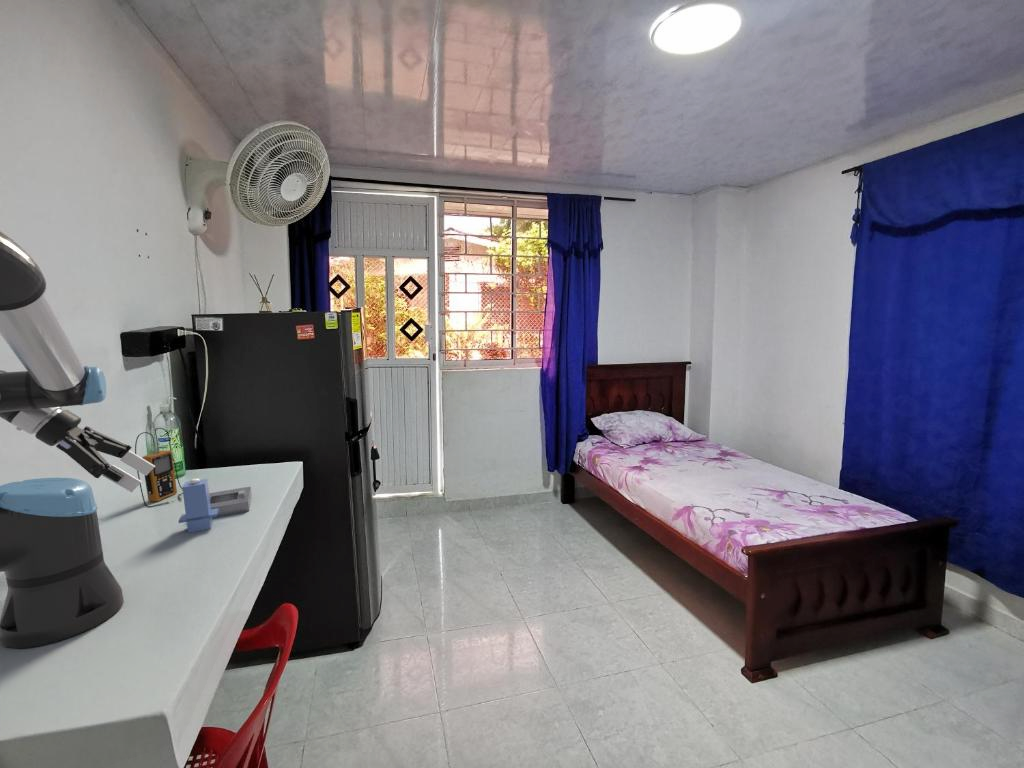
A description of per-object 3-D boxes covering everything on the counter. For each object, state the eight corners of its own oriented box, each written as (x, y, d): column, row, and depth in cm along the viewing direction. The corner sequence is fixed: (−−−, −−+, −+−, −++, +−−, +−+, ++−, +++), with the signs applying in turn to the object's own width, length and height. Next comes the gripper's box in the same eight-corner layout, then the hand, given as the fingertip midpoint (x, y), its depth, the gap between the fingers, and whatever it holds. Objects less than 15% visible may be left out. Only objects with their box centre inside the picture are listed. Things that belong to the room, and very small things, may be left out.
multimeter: (168, 507, 133) (158, 435, 131) (136, 507, 135) (125, 435, 133) (209, 489, 148) (201, 423, 145) (179, 489, 149) (171, 424, 147)
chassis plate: (249, 510, 128) (247, 498, 128) (194, 520, 123) (193, 507, 123) (251, 495, 141) (250, 483, 140) (202, 503, 136) (200, 491, 135)
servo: (218, 527, 118) (212, 479, 117) (180, 534, 115) (173, 485, 114) (220, 520, 122) (214, 474, 121) (183, 527, 119) (177, 479, 118)
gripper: (57, 425, 116) (144, 477, 124) (6, 448, 93) (115, 509, 102) (83, 400, 117) (167, 453, 126) (38, 417, 95) (144, 480, 103)
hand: (144, 478), depth 114 cm, fingers open, 13 cm apart
